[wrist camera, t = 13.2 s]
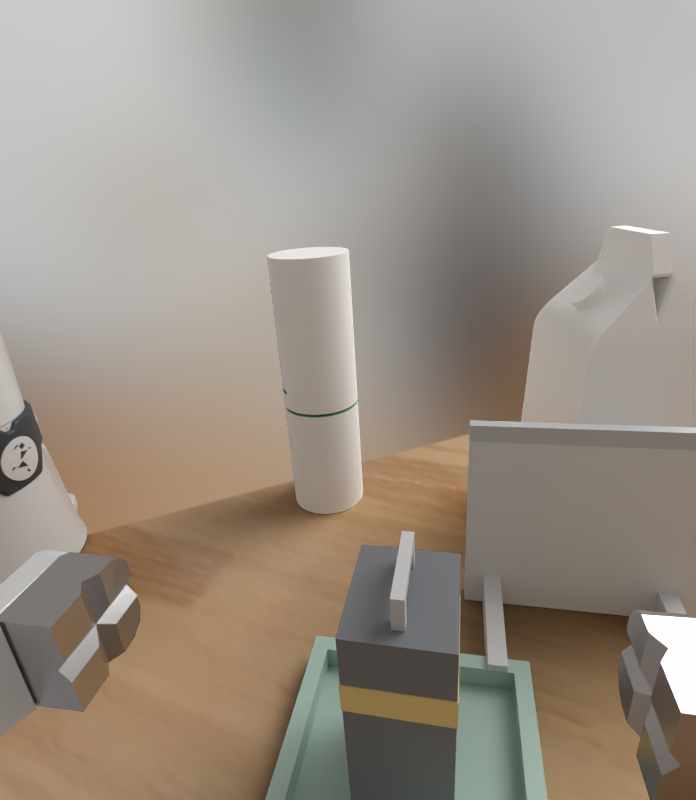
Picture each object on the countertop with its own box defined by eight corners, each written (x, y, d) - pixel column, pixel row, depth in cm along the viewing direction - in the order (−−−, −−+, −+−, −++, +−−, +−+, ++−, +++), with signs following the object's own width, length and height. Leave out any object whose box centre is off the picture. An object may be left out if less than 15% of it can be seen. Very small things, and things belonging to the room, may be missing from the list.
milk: (695, 555, 44) (778, 232, 33) (559, 565, 44) (600, 244, 33) (621, 478, 55) (666, 218, 44) (512, 486, 55) (532, 227, 44)
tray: (244, 909, 24) (238, 885, 23) (319, 656, 37) (316, 635, 36) (563, 986, 21) (569, 962, 21) (527, 683, 34) (529, 661, 33)
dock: (464, 688, 34) (471, 490, 28) (464, 588, 42) (470, 417, 36) (743, 726, 31) (821, 511, 24) (685, 609, 39) (733, 425, 33)
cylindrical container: (350, 470, 60) (335, 244, 50) (372, 504, 53) (360, 253, 43) (289, 484, 58) (260, 252, 48) (305, 520, 51) (275, 262, 42)
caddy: (352, 826, 27) (330, 608, 21) (371, 714, 32) (359, 516, 26) (453, 846, 26) (461, 623, 20) (456, 727, 31) (462, 524, 25)
